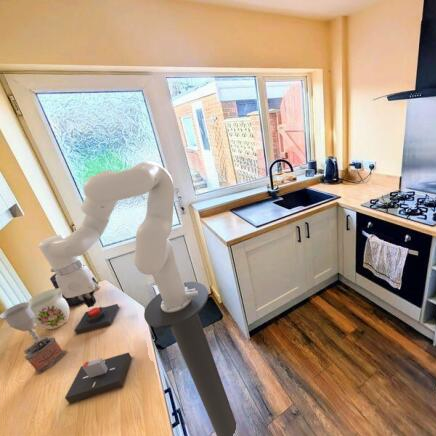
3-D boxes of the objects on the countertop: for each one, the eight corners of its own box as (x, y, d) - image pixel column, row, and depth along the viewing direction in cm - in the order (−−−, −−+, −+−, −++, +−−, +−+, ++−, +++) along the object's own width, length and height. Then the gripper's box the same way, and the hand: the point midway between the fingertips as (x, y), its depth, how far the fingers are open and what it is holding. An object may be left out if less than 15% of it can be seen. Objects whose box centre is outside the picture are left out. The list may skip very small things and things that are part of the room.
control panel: (132, 358, 83) (128, 351, 82) (122, 387, 75) (118, 380, 73) (85, 372, 80) (80, 366, 79) (69, 404, 72) (64, 397, 70)
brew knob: (108, 368, 77) (101, 357, 75) (106, 373, 76) (99, 362, 74) (92, 373, 76) (84, 362, 74) (89, 378, 75) (81, 367, 73)
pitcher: (25, 331, 100) (5, 306, 94) (79, 305, 111) (64, 281, 105) (26, 346, 93) (4, 320, 87) (84, 316, 104) (68, 291, 98)
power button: (102, 309, 102) (100, 306, 101) (98, 315, 99) (96, 312, 98) (92, 311, 101) (90, 308, 100) (88, 318, 98) (86, 315, 97)
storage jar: (76, 308, 109) (60, 282, 103) (60, 306, 112) (43, 280, 106) (97, 293, 118) (83, 267, 112) (82, 291, 120) (67, 266, 114)
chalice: (32, 357, 88) (2, 320, 80) (26, 349, 91) (-3, 313, 84) (57, 341, 93) (31, 305, 86) (51, 334, 97) (25, 299, 89)
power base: (119, 307, 107) (115, 300, 105) (110, 325, 98) (106, 317, 97) (88, 315, 104) (83, 308, 103) (76, 334, 96) (71, 326, 94)
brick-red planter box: (61, 350, 89) (47, 331, 85) (67, 353, 88) (53, 333, 84) (34, 371, 82) (17, 351, 78) (40, 374, 81) (23, 354, 77)
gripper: (38, 279, 85) (66, 317, 93) (86, 267, 88) (109, 305, 96) (51, 267, 92) (76, 304, 100) (95, 256, 95) (116, 293, 103)
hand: (92, 304), depth 98 cm, fingers closed
